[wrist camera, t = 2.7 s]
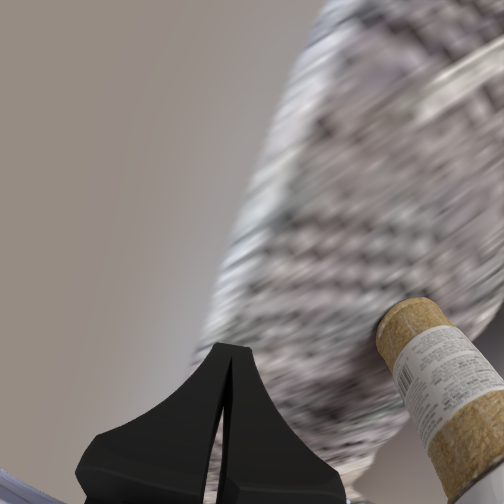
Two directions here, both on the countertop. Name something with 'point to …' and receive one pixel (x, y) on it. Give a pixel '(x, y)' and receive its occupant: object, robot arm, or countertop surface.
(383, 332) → the sprinkles bottle
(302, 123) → the countertop surface
